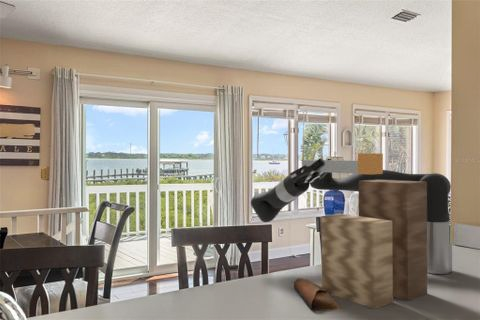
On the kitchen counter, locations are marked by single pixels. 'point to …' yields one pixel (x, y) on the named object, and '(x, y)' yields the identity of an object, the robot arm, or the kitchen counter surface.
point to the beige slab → (358, 259)
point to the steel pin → (352, 165)
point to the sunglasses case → (315, 295)
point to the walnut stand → (401, 229)
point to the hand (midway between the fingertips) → (326, 161)
